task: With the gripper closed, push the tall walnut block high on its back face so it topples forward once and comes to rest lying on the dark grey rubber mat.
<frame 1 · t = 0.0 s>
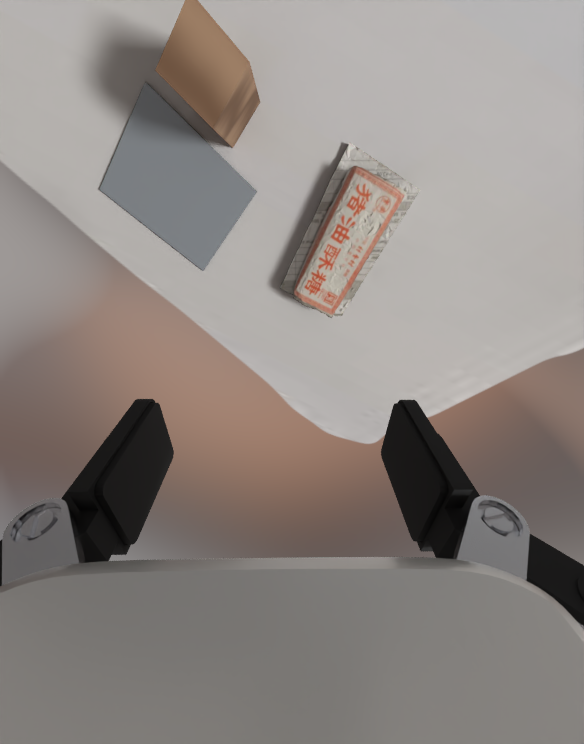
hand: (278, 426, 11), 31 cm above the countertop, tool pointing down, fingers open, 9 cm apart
walnut block: (226, 104, 29), on the countertop
rubber mat: (179, 190, 33), on the countertop
packaged product: (342, 241, 37), on the countertop
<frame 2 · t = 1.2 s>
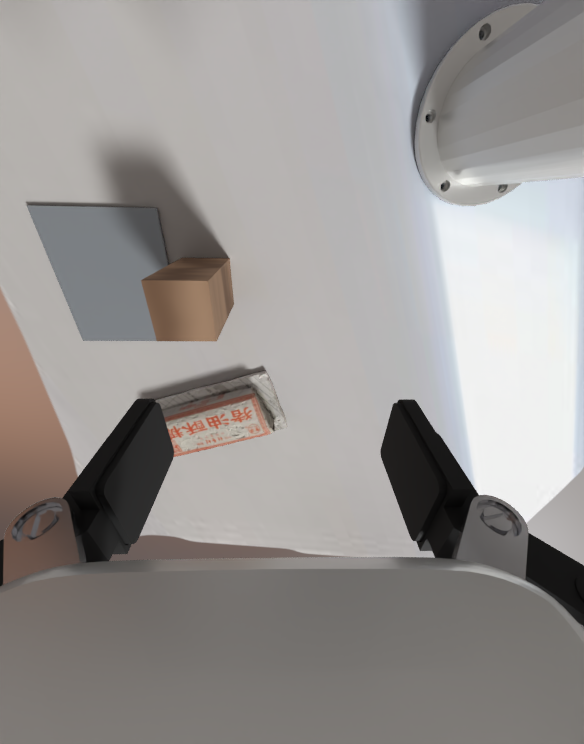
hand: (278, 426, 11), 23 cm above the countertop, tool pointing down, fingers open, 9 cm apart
walnut block: (209, 282, 30), on the countertop
rubber mat: (116, 281, 30), on the countertop
packaged product: (220, 409, 41), on the countertop
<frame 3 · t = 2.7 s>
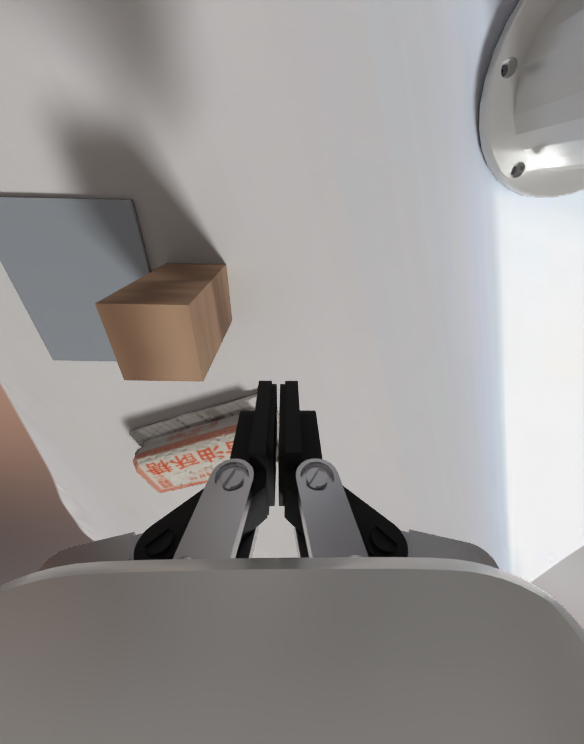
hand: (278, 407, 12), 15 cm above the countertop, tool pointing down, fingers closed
walnut block: (201, 293, 24), on the countertop
rubber mat: (87, 291, 24), on the countertop
packaged product: (217, 435, 35), on the countertop
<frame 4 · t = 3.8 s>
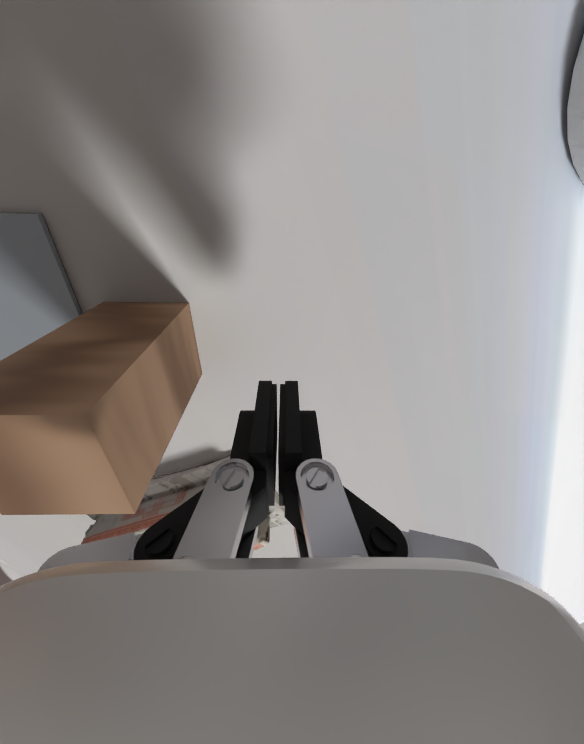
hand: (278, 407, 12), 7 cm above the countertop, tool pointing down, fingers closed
walnut block: (156, 340, 18), on the countertop
packaged product: (191, 500, 28), on the countertop
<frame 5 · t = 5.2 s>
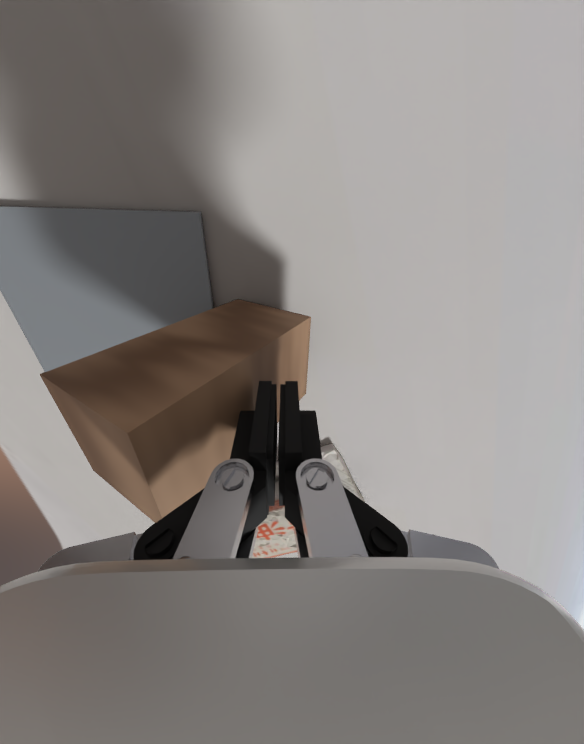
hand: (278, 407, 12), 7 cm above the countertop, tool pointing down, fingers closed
walnut block: (272, 347, 17), point 1 cm above the countertop, tilted 32°
rubber mat: (123, 334, 18), on the countertop
packaged product: (267, 494, 28), on the countertop
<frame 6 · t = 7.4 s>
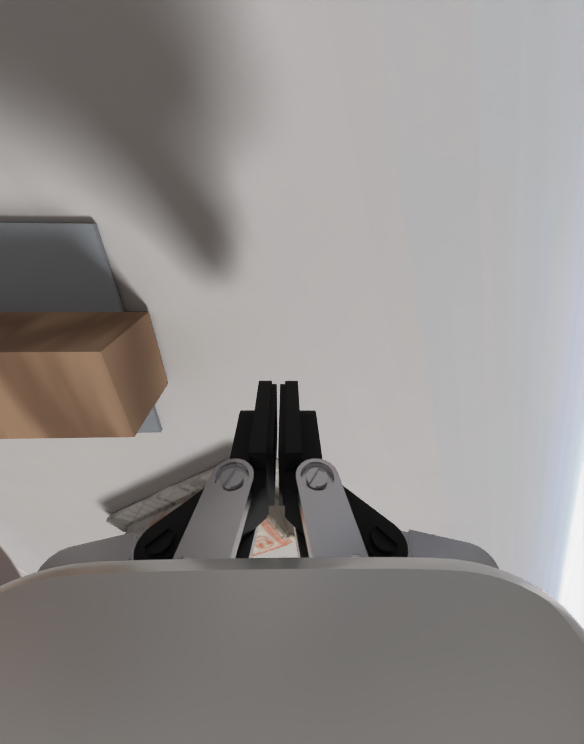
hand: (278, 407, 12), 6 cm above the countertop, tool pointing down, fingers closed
walnut block: (142, 371, 15), point 3 cm above the countertop, tilted 90°, touching rubber mat
rubber mat: (38, 348, 17), on the countertop
packaged product: (216, 502, 27), on the countertop
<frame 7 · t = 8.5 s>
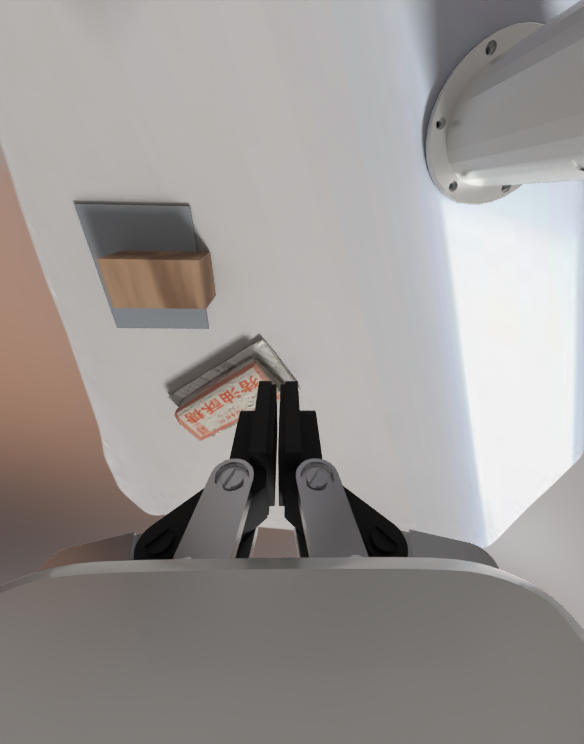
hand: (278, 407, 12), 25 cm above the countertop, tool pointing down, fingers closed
walnut block: (208, 279, 31), point 3 cm above the countertop, tilted 90°, touching rubber mat
rubber mat: (150, 273, 33), on the countertop
packaged product: (235, 387, 43), on the countertop
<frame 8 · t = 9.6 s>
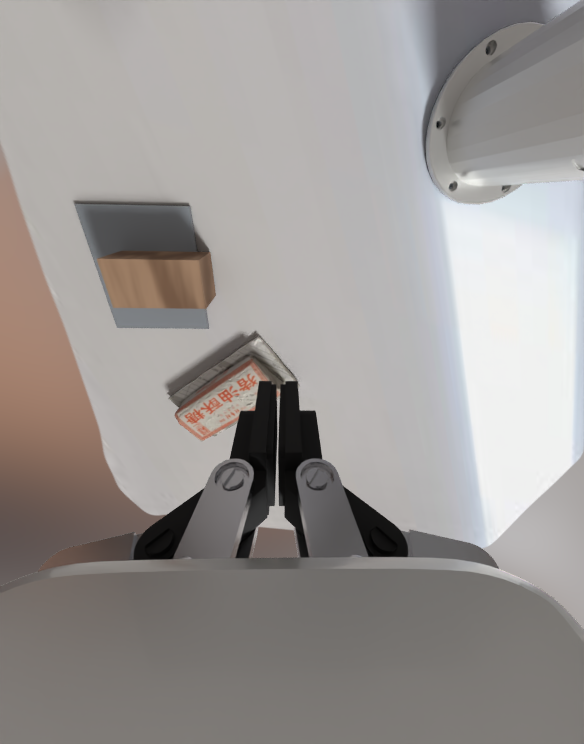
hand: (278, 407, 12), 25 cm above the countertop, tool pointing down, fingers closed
walnut block: (208, 279, 31), point 3 cm above the countertop, tilted 90°, touching rubber mat
rubber mat: (150, 273, 33), on the countertop
packaged product: (234, 386, 43), on the countertop
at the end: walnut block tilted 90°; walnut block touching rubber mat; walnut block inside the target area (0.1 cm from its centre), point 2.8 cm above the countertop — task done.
